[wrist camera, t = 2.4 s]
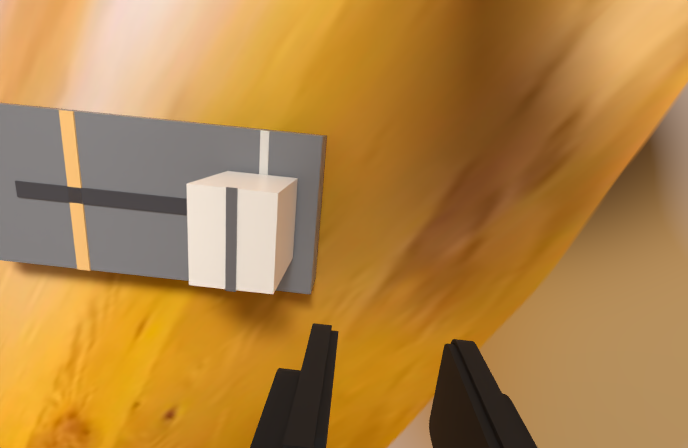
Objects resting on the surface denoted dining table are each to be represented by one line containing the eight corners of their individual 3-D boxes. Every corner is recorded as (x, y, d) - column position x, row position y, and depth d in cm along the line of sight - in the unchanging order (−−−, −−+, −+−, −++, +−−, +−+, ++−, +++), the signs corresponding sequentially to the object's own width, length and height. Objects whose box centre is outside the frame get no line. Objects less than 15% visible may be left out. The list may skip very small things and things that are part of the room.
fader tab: (297, 177, 24) (277, 192, 19) (292, 258, 26) (272, 295, 20) (227, 170, 25) (185, 183, 19) (226, 251, 26) (188, 286, 20)
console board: (326, 135, 27) (322, 136, 24) (315, 278, 30) (310, 295, 27) (-2, 102, 27) (-47, 99, 24) (21, 246, 31) (-16, 259, 28)
